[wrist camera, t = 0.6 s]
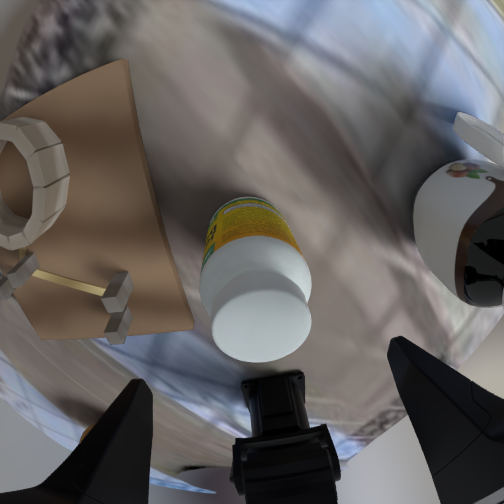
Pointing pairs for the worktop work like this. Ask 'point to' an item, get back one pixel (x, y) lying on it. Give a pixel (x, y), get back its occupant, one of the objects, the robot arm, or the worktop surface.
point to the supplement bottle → (254, 282)
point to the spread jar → (465, 218)
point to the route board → (85, 216)
